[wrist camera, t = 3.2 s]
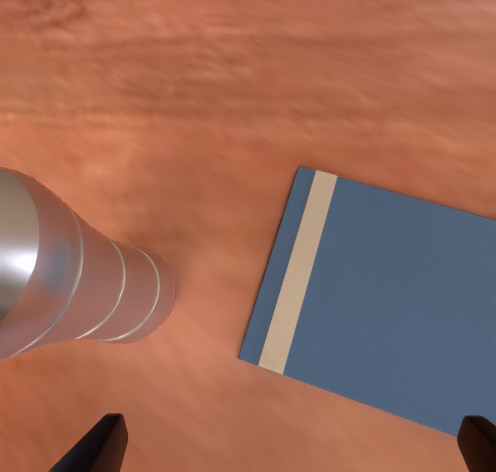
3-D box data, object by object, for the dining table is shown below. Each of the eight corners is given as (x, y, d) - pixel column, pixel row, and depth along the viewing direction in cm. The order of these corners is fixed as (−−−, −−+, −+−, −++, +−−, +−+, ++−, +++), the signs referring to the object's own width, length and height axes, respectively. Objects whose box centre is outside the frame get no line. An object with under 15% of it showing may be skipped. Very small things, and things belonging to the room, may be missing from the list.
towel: (238, 357, 22) (237, 358, 22) (298, 168, 26) (299, 164, 26) (559, 472, 20) (569, 477, 19) (571, 244, 24) (580, 242, 23)
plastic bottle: (194, 268, 24) (-52, 59, 5) (162, 354, 23) (-401, 544, 3) (121, 244, 25) (-340, -19, 6) (84, 326, 23) (-745, 344, 4)
